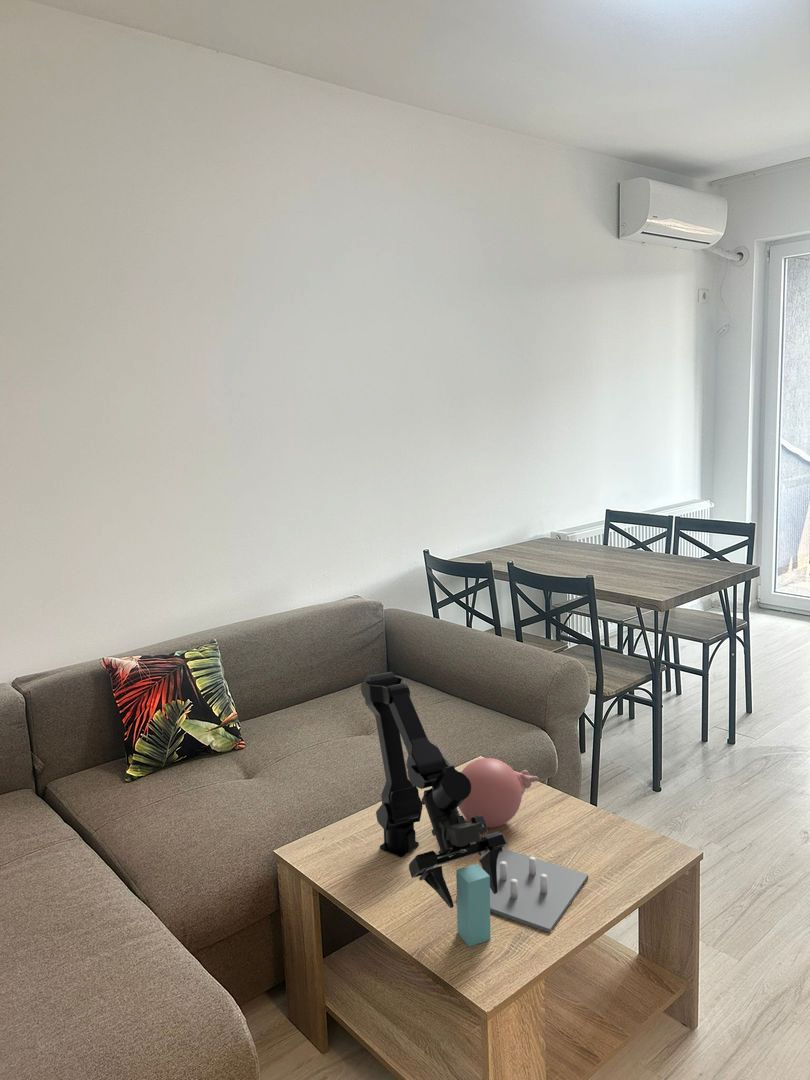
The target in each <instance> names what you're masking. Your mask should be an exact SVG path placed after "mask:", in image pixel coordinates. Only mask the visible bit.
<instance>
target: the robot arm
mask: <svg viewBox="0 0 810 1080" xmlns="http://www.w3.org/2000/svg"><path fill="white" fill-rule="evenodd" d="M360 690H361V691H360V693H361V694H362V696H363V698H364V702H365V705H366V707H367V708H368V709H369V710H370V711H371V712H372V713H373V715H374V717H375V721H376V728H377V734H378V735H377V736H378V739H379V746H380V752H381V758H382V764H383V768H384V769H383V770H384V775H385V783H384V786H383V790H382V792H381V796H380V797H381V805H380V806H379V808H378V809H377V810H376V811H375V815H376V820H377V823H378V824H379V825H380V826H381V828H382V829H383V843H382V844H380V845H379V849H380V850H382V851H384V852H387V853H390V854H391V855H394V856H396V857H398V858H404V857H405V856H406V855H408V854H409V853H410V852H412V851H413V850H414V849H416V848H417V847H419V846H420V843H419V841H417V840H416V839H417V838H416V830H415V823H420V821H421V818H422V817H421V816H422V810H423V806H425V809H426V812H427V815H428V818H429V820H430V823H431V827H432V830H431V834H432V836H433V837H435V838H436V842H437V843H438V847H439V851H438V853H436V852H435V851H434V850H429V851H427V852H423V853H420V854H416V855H415V857H414V858H413V859H411V861H410V862H409V864H408V871H409V873H410V876H411V879H415V878H418V880H419V881H420V882H422V881H424V882H425V883H427V884H428V885H429V886H430V887H431V889H433V890H434V892H436V893H437V894H438V896H439V897H440V898H441V899H442V900H443V901H444V903H445V904H446V905H447V906H448V908H449V909H453V908H454V907H455V906H454V901H453V899H452V896H451V895H452V894H451V893H450V891H449V887H448V885H447V882H446V880H445V878H444V874H443V866H442V865H444V864H447V863H450V862H453V861H456V860H460V859H462V858H467V857H470V856H474V855H477V854H478V855H480V856H481V858H480V859H479V863H480V867H481V868H483V870H484V871H485V872H486V873H487V874H488V875H489V876H490V888H491V890H492V892H493V893H494V894H496V893H497V858H498V854H499V853H501V852H502V851H503V850H502V848H504V847H506V846H507V845H508V842H507V839H506V837H505V835H504V834H503V833H502V832H501V831H495V832H492V833H488V827H487V825H486V822H485V820H484V818H483V815H478V816H475V817H472V818H471V821H469V822H466V819H465V818H466V817H465V816H464V815H463V814H462V815H460V812H459V810H458V809H459V807H458V806H459V805H460V804H461V803H462V802H463V801H464V800H465V799H466V798H467V797H468V796H469V794H470V792H471V783H470V780H469V779H468V778H467V777H466V776H465V775H464V774H463V773H461V772H462V771H458V770H457V769H456V768H455V765H451V763H449V762H448V760H447V759H446V758H445V757H444V755H443V753H442V751H441V750H440V748H439V747H438V746H437V745H435V744H434V743H432V742H431V741H430V739H429V738H428V736H427V733H426V732H425V729H424V727H423V724H422V721H421V720H420V717H419V715H418V712H417V711H416V708H415V706H414V704H413V701H412V699H411V690H410V688H409V685H408V684H407V683H405V678H403V677H401V676H400V675H395V673H394V672H392V671H388V672H383V673H377V674H372V675H367V676H365V677H364V680H363V681H362V682H361V684H360ZM401 738H402V739H401ZM402 741H403V744H404V746H405V749H406V752H407V754H408V755H407V758H406V762H405V755H404V750H403V745H402ZM427 788H430V789H427ZM419 789H420V790H423V789H425V790H423V796H422V798H421V797H420V794H419V792H420V791H419ZM487 833H488V834H487ZM483 834H484V835H483ZM481 835H482V836H481Z"/></svg>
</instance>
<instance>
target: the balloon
mask: <svg viewBox="0 0 810 1080" xmlns="http://www.w3.org/2000/svg"><path fill="white" fill-rule="evenodd" d="M460 772H461V773H463V774H464V775H465V776H466V777H467V778H468V779H469V780H470V783H471V792H470V794H469V796H468V797H467V798H466V799H465V800H464V801H463V802H462V803H461V804H460V805H459V806H458V807H457V808H458V809H459V810H460V812H461V814H462V815H463V817H464V818H466V819H467V820H468V821H469V822H471V818H472V817H475V816H478V815H483V818H484V820H485V822H486V825H487V828H495V827H496V828H497V827H500V826H503V825H505V824H507V823H508V822H509V821H511V820H512V819H513V818H514V817H515V815H516V814H517V812H518V811H519V809H520V806H521V803H522V798H523V797H522V796H523V794H524V793H525V792H526V789H530V788H531V786H532V783H535V782H538V781H539V780H540V778H539V776H536V775H531V774H530V773H529V771H528V770H527V769H523V770H521V772H519V771H515V770H514V769H513V768H512V767H511V766H510V765H509V764H507V763H505V762H504V761H502V760H500V759H497V758H492V757H483V758H479V759H475V760H474V761H473V760H472V762H469V764H467V765H466V766H465V767H463V769H462V770H461V771H460Z"/></svg>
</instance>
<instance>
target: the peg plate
mask: <svg viewBox="0 0 810 1080" xmlns="http://www.w3.org/2000/svg"><path fill="white" fill-rule="evenodd" d="M502 850H503V851H502V852H501V853H499V854H498V858H497V893H496V894H494V893H493V892H492V890H491V888H490V913H493V914H495V915H499V916H502V917H504V918H507V919H509V920H512V921H516V922H518V923H521V924H524V925H527V926H529V927H533V928H535V929H538V930H541V931H544V932H546V933H550V934H551V933H552V931H553V930H554V929H555V927H556V925H557V924H558V923H559V921H560V920H561V918H562V917H563V915H564V914H565V912H566V911H567V909H568V908H569V907H570V905H571V904H570V903H572V902H573V901H574V899H575V898H576V897H577V895H578V893H579V892H580V891H581V889H582V888H581V887H583V886H584V885H585V883H586V882H587V880H588V879H589V873H584V872H582V871H579V870H575V869H572V868H569V867H565V866H562V865H559V864H555V863H553V862H548V861H545V860H542V859H539V858H537V857H535V856H529V855H526V854H523V853H519V852H517V851H513V850H510V849H506V848H504V847H503V848H502ZM481 868H482V867H481ZM482 869H483V868H482ZM583 884H584V885H583ZM455 899H456V901H457V895H456V897H455Z"/></svg>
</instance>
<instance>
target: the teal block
mask: <svg viewBox="0 0 810 1080" xmlns="http://www.w3.org/2000/svg"><path fill="white" fill-rule="evenodd" d="M455 870H456V871H455V873H456V877H455V878H456V896H457V900H456V917H457V918H456V920H457V921H456V923H457V925H456V926H457V928H456V929H457V934H458V935H459V936H460V937H461V939H462V940H463V941H464V943H465V944H466V945H467V946H468V948H470V947H473V946H476V945H478V944H482V943H484V942H488V941H490V940H491V912H490V876H489V875H488V874H487V873H486V872H485V871H484V870H483V869H482V866H481V865H480V864H479V863H476V864H475V863H474V864H471V865H469V866H465V867H462V868H458V869H455Z"/></svg>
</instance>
